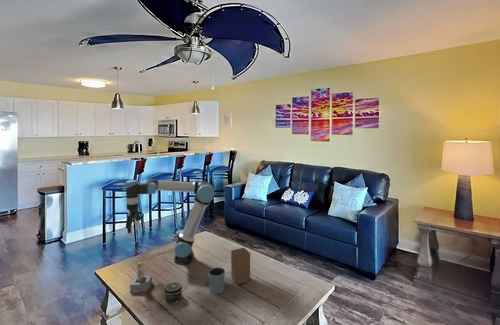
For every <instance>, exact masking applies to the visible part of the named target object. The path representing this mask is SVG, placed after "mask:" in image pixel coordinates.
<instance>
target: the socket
mask: <svg viewBox="0 0 500 325" xmlns="http://www.w3.org/2000/svg"><path fill="white" fill-rule="evenodd" d="M144 278H145V282H140V283H138V276H137V275H135V277H134V278H133V280H132V281H131V283H129V291H130V293H134V292H133V291H147V290H148V291H149V289H150V287H151V286H152V284H153V279H152V278H153V277H152V275H144ZM151 283H152V284H151ZM149 286H150V287H149ZM148 288H149V289H148ZM148 291H147V292H148Z"/></svg>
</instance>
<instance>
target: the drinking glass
mask: <svg viewBox="0 0 500 325" xmlns="http://www.w3.org/2000/svg"><path fill="white" fill-rule="evenodd" d="M225 273H226V271H225V269H224V268H223V267H212V268H210V269H209V270H208V279H209V290H210V292H211V293H213V294H221V293H222V292H223V291H224V289H225V275H226V274H225Z"/></svg>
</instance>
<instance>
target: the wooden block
mask: <svg viewBox="0 0 500 325" xmlns="http://www.w3.org/2000/svg"><path fill="white" fill-rule="evenodd" d="M230 252H231V253H230V256H231V257H230V258H231V259H230V263H231V264H230V267H231V268H230V269H231V270H230V271H231V272H230V274H231V276H230V277H231V279H232V280H233V282H234V283H235V284H236V285H241V284H245V283H249V282H250V281H251V252H249V251H248V250H247V249H246V248H245V247H240V248H236V249H232V250H231V251H230Z"/></svg>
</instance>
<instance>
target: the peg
mask: <svg viewBox="0 0 500 325" xmlns="http://www.w3.org/2000/svg"><path fill="white" fill-rule="evenodd" d="M136 271H137V272H136V273H137V275H136V276H138V283H140V282H145V278H144V276H145V263H144V261H140V262H139V261H138V262H137V263H136Z"/></svg>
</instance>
